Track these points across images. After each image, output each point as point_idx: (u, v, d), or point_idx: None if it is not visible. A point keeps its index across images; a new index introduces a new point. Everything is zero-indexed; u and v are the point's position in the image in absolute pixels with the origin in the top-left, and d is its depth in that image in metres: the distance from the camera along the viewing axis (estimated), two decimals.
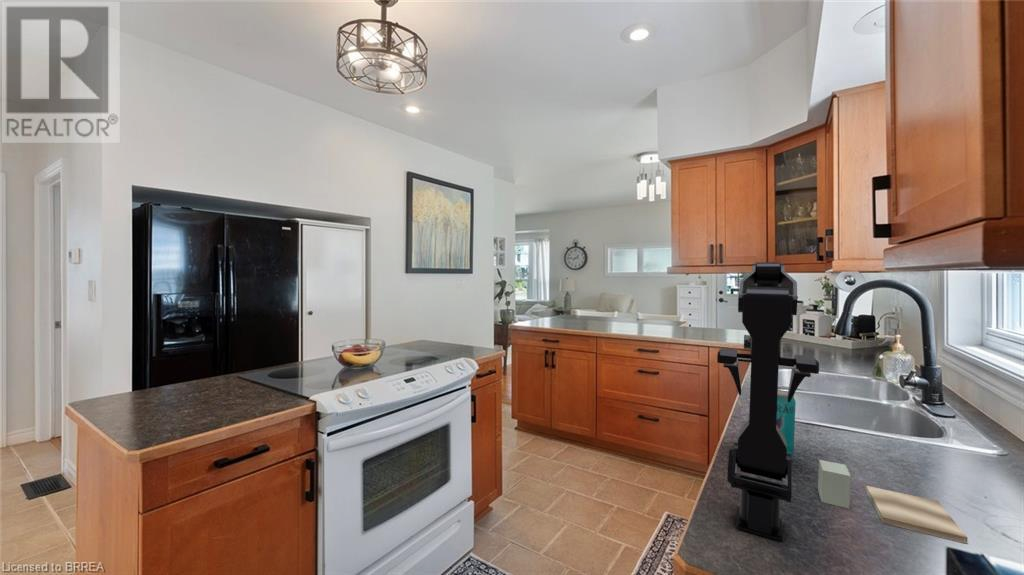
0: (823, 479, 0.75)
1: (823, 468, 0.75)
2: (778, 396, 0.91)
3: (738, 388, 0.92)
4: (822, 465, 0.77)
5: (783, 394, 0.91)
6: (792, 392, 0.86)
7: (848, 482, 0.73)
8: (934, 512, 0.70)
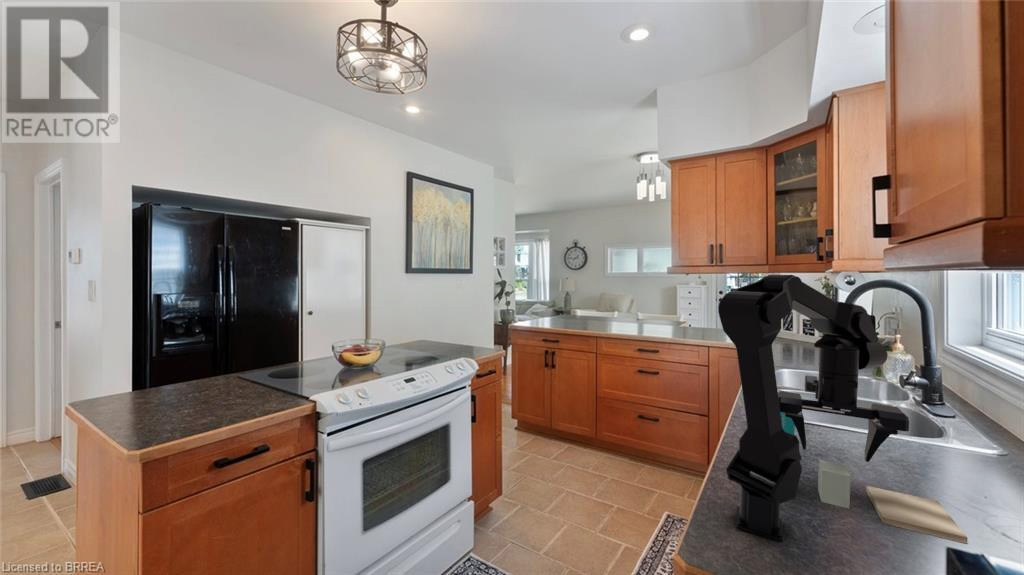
0: (823, 479, 0.75)
1: (823, 468, 0.75)
2: None
3: (802, 442, 0.77)
4: (822, 465, 0.77)
5: None
6: (872, 451, 0.72)
7: (848, 482, 0.73)
8: (934, 512, 0.70)
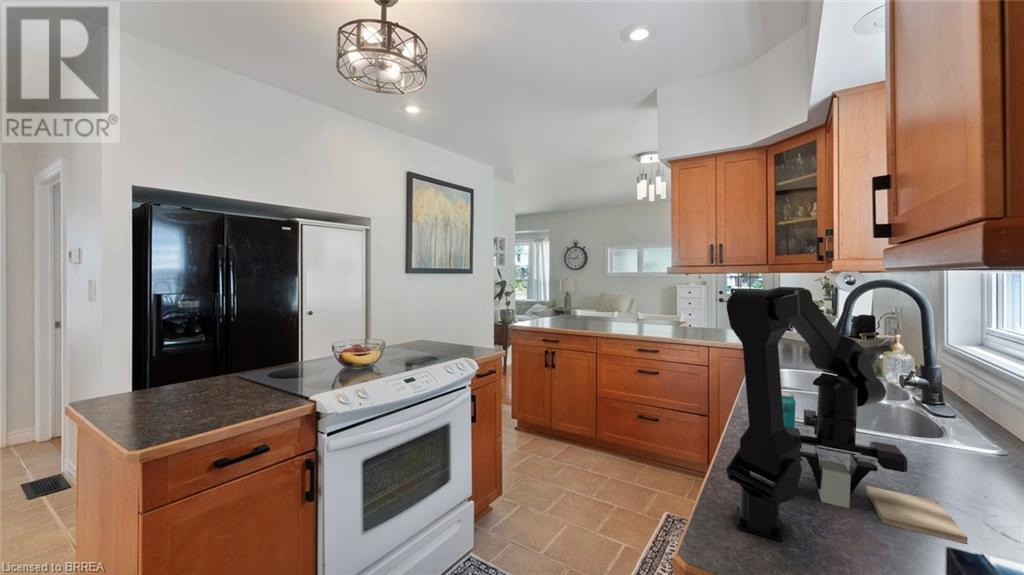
0: (823, 479, 0.75)
1: (823, 468, 0.75)
2: None
3: (817, 481, 0.76)
4: (822, 465, 0.77)
5: (783, 394, 0.91)
6: (853, 486, 0.73)
7: (848, 482, 0.73)
8: (934, 512, 0.70)
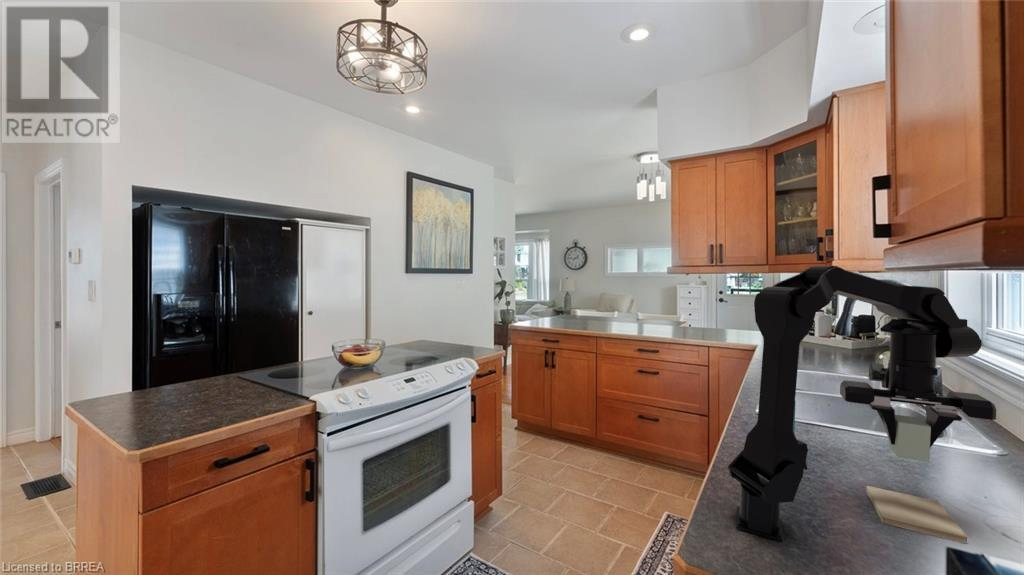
0: (899, 432, 0.70)
1: (898, 421, 0.71)
2: None
3: (891, 436, 0.72)
4: (896, 418, 0.72)
5: None
6: (933, 438, 0.69)
7: (928, 434, 0.68)
8: (934, 512, 0.70)
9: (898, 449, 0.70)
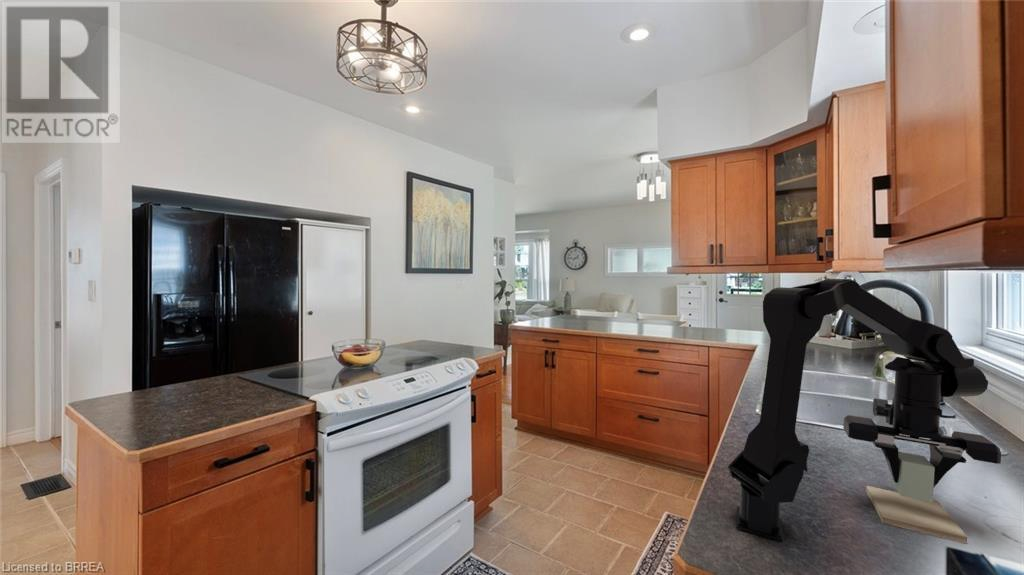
0: (903, 471, 0.70)
1: (902, 459, 0.71)
2: None
3: (895, 474, 0.71)
4: (899, 456, 0.72)
5: None
6: (937, 479, 0.68)
7: (931, 474, 0.68)
8: (934, 512, 0.70)
9: (901, 488, 0.70)
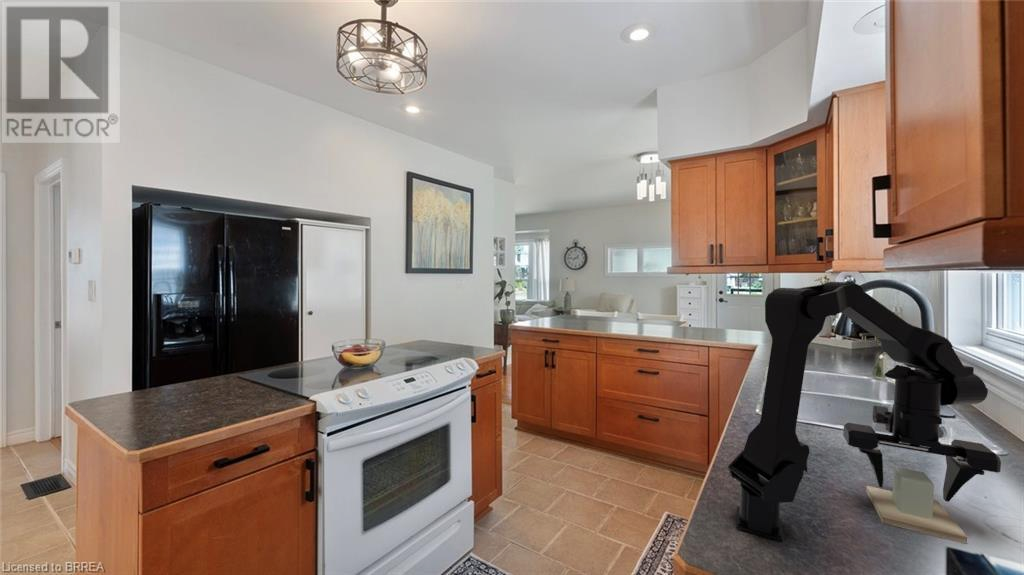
0: (902, 488, 0.70)
1: (901, 476, 0.71)
2: None
3: (879, 479, 0.72)
4: (899, 472, 0.72)
5: None
6: (954, 490, 0.67)
7: (931, 491, 0.68)
8: (934, 512, 0.70)
9: (901, 504, 0.70)
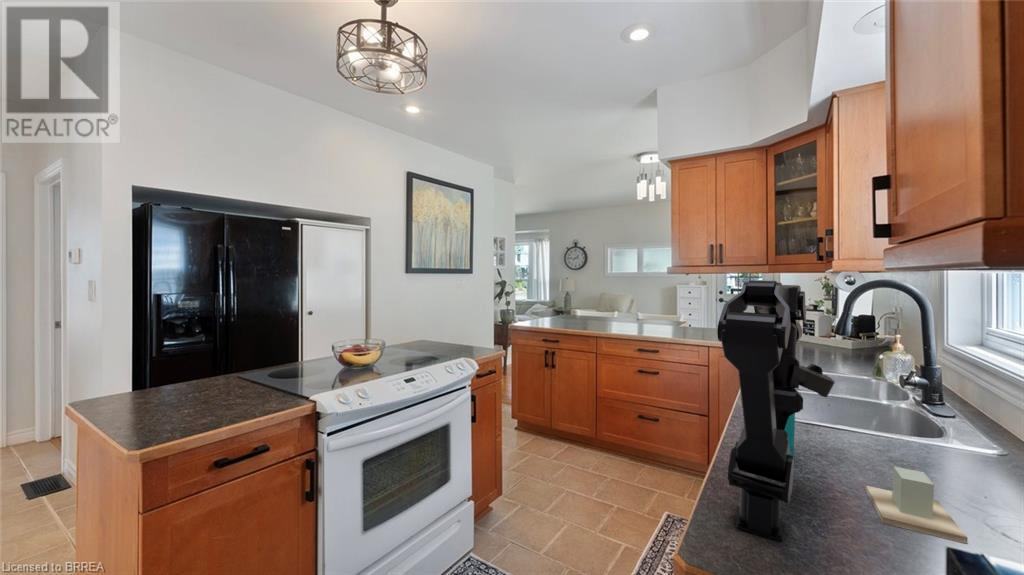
0: (902, 488, 0.70)
1: (901, 476, 0.71)
2: None
3: None
4: (899, 472, 0.72)
5: None
6: None
7: (931, 491, 0.68)
8: (934, 512, 0.70)
9: (901, 504, 0.70)
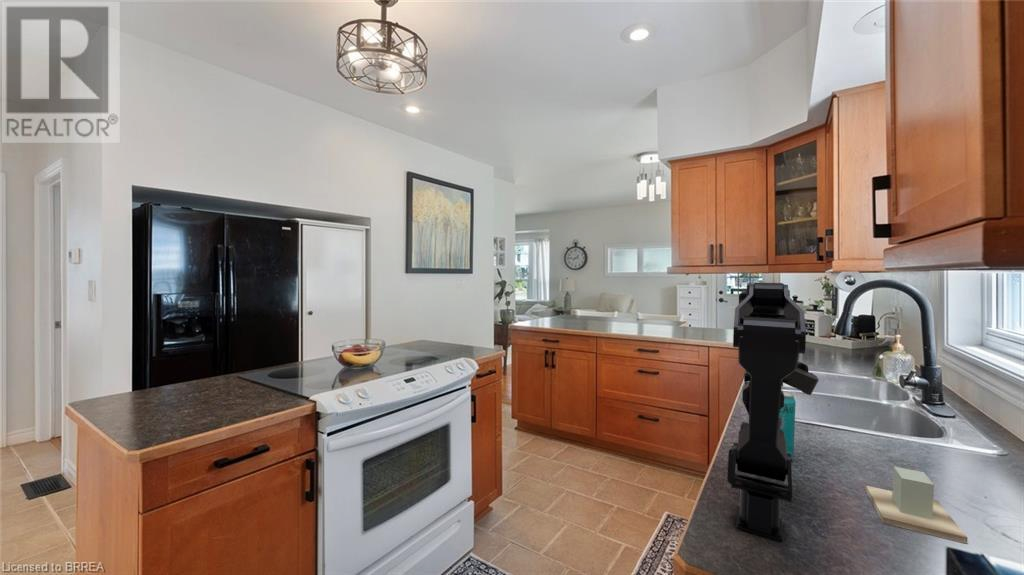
0: (902, 488, 0.70)
1: (901, 476, 0.71)
2: None
3: None
4: (899, 472, 0.72)
5: None
6: None
7: (931, 491, 0.68)
8: (934, 512, 0.70)
9: (901, 504, 0.70)
